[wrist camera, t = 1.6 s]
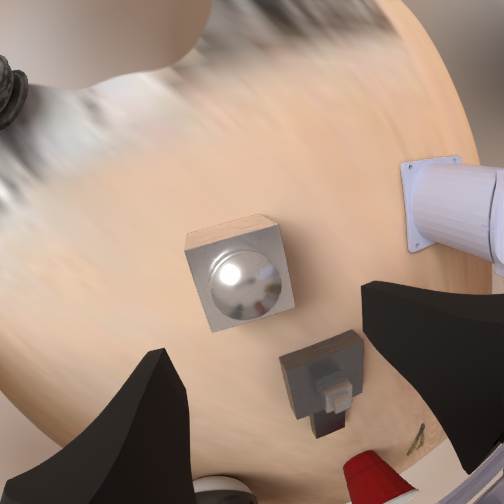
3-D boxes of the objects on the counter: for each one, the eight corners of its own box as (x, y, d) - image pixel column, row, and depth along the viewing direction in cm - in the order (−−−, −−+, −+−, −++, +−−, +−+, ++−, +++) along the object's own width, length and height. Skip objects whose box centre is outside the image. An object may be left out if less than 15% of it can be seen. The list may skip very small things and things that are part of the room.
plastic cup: (322, 464, 29) (353, 524, 18) (386, 431, 30) (425, 482, 19) (330, 483, 33) (355, 531, 21) (384, 456, 34) (414, 499, 22)
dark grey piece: (352, 329, 23) (382, 359, 18) (352, 412, 27) (371, 440, 22) (278, 357, 22) (298, 396, 17) (297, 435, 26) (312, 466, 21)
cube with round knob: (259, 213, 18) (284, 227, 13) (274, 280, 20) (301, 315, 15) (187, 233, 18) (183, 256, 13) (207, 300, 19) (213, 342, 14)
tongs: (425, 417, 34) (431, 424, 32) (419, 441, 39) (423, 447, 37) (407, 431, 34) (413, 438, 32) (403, 452, 38) (408, 458, 36)
